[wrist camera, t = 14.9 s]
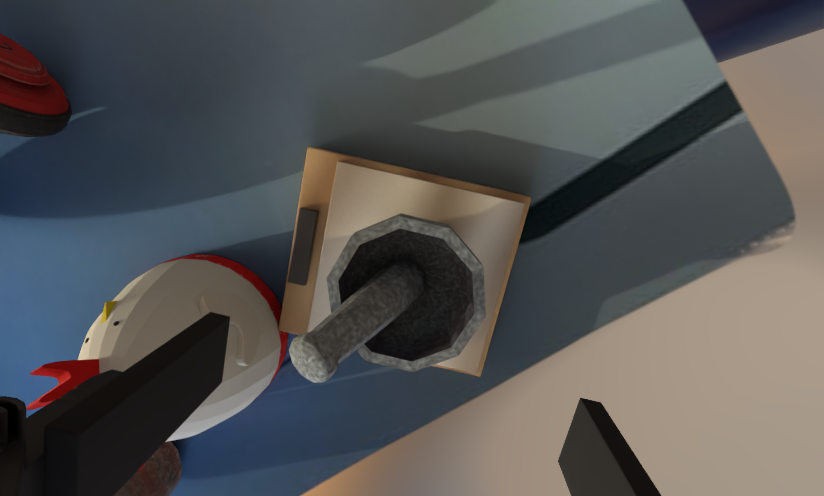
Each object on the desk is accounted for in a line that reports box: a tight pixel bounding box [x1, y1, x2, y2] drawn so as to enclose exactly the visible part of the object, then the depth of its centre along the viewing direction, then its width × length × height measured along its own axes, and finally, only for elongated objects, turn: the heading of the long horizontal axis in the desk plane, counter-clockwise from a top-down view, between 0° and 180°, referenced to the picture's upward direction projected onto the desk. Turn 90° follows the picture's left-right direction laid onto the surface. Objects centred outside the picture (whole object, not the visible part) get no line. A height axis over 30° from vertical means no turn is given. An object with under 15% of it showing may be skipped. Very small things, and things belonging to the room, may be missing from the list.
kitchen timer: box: [26, 254, 288, 470], centre depth 29 cm, size 14×14×15 cm
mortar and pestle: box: [289, 213, 486, 383], centre depth 26 cm, size 11×9×12 cm
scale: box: [278, 147, 531, 377], centre depth 33 cm, size 17×15×3 cm
